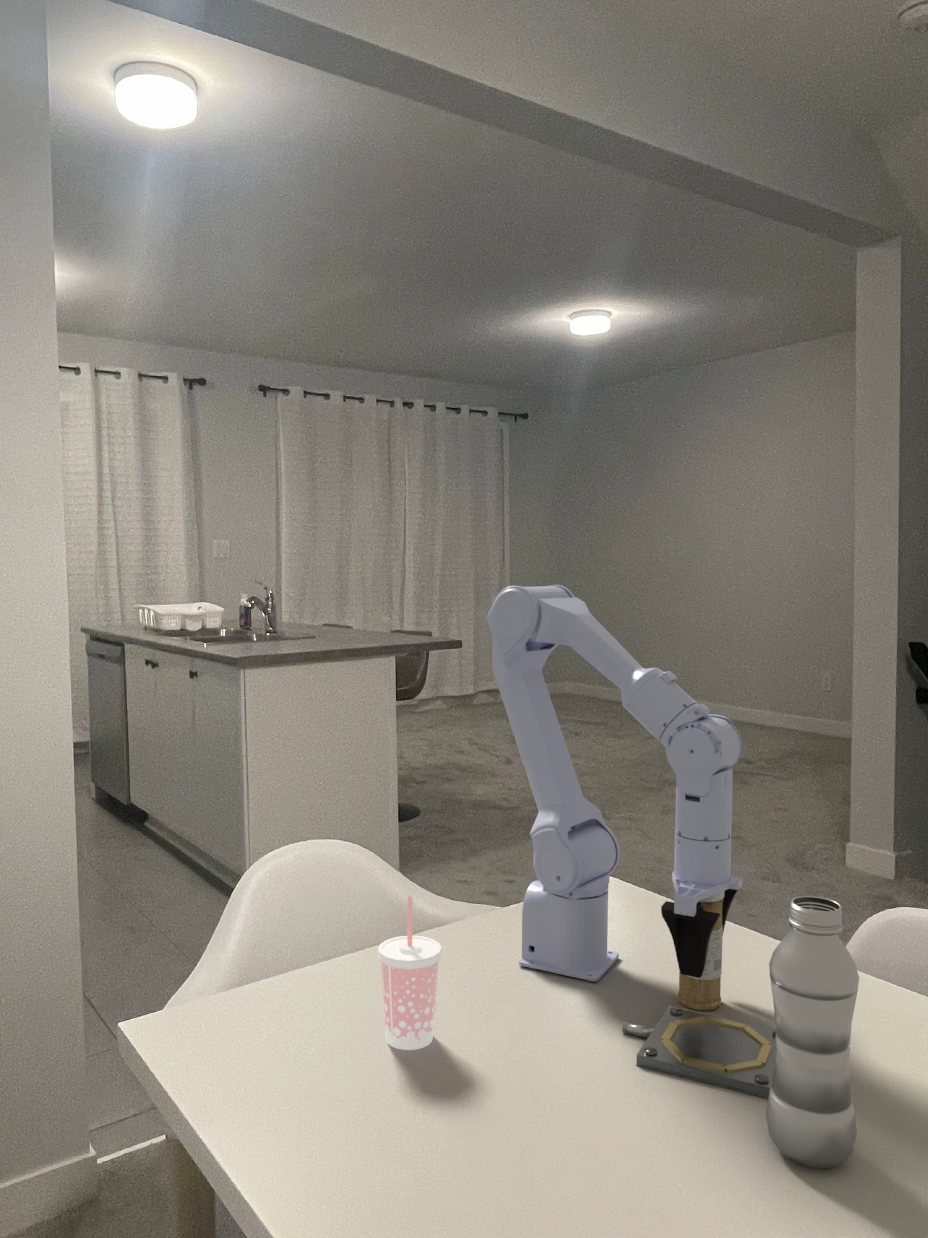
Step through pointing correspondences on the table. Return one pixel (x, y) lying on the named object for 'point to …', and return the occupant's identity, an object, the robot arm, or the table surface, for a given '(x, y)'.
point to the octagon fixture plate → (709, 1050)
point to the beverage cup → (409, 987)
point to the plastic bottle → (813, 1037)
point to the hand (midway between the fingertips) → (700, 961)
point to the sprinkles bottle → (706, 966)
